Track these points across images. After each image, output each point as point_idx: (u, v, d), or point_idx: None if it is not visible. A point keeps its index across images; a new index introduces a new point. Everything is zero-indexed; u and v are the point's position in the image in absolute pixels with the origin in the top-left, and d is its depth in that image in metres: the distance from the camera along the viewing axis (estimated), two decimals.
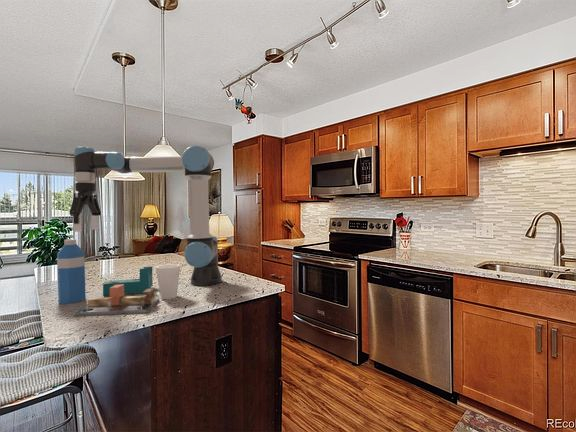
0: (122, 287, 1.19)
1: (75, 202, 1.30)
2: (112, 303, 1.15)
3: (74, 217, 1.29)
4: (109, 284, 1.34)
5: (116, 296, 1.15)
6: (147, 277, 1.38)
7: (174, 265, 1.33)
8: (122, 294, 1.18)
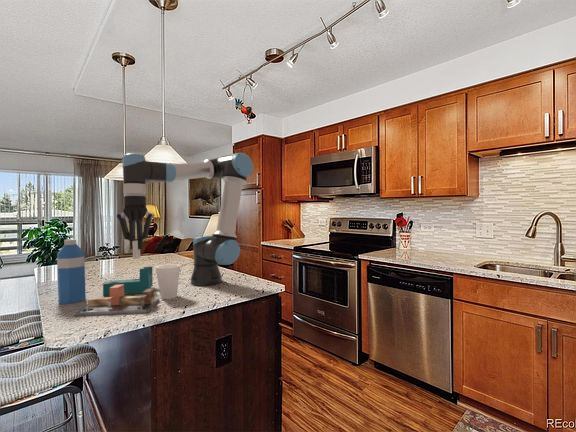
0: (122, 287, 1.19)
1: None
2: (112, 303, 1.15)
3: None
4: (109, 284, 1.34)
5: (116, 296, 1.15)
6: (147, 277, 1.38)
7: (174, 265, 1.33)
8: (122, 294, 1.18)
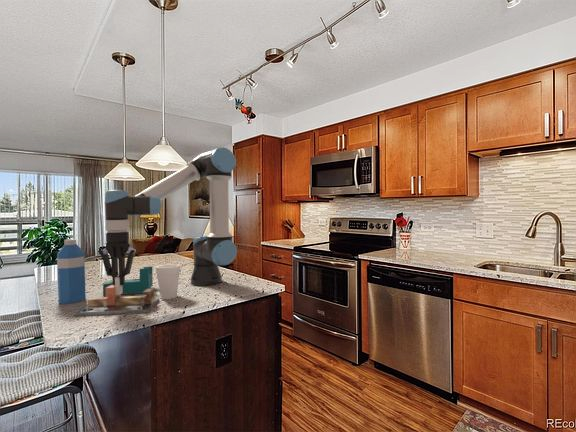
0: None
1: None
2: (108, 303, 1.15)
3: None
4: (109, 284, 1.34)
5: (112, 296, 1.15)
6: (147, 277, 1.38)
7: (174, 265, 1.33)
8: None
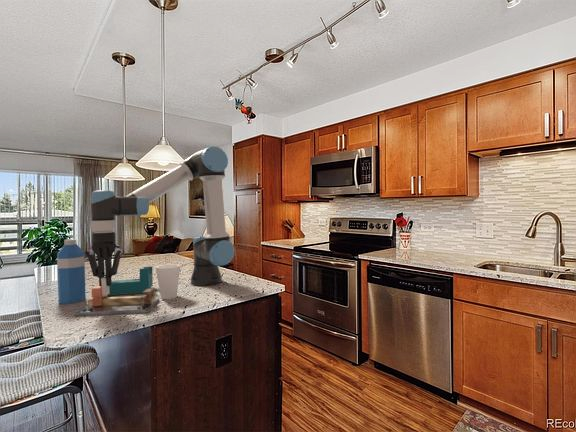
0: None
1: None
2: (94, 304, 1.14)
3: None
4: None
5: (98, 297, 1.14)
6: (147, 277, 1.38)
7: (174, 265, 1.33)
8: None
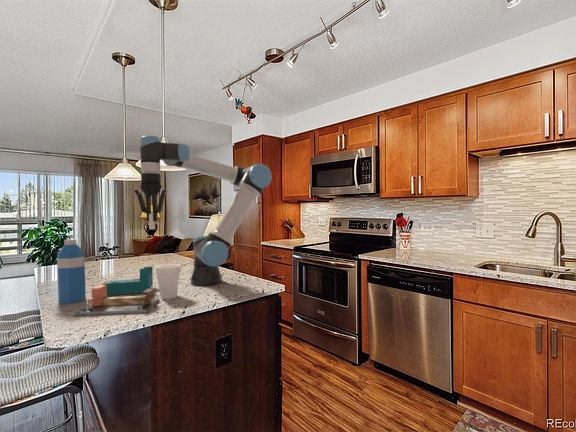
0: (105, 287, 1.18)
1: None
2: (94, 304, 1.14)
3: None
4: (109, 284, 1.34)
5: (98, 297, 1.14)
6: (147, 277, 1.38)
7: (174, 265, 1.33)
8: (104, 295, 1.18)
